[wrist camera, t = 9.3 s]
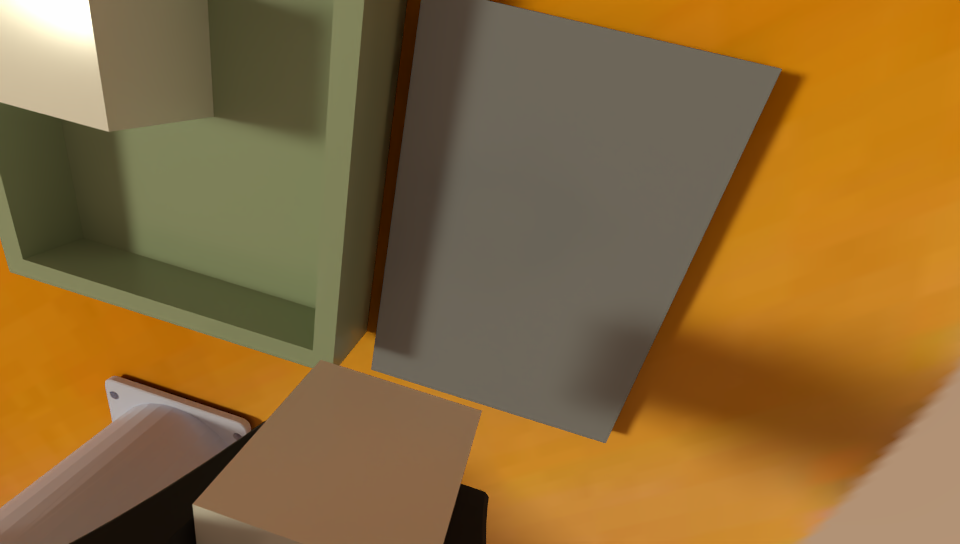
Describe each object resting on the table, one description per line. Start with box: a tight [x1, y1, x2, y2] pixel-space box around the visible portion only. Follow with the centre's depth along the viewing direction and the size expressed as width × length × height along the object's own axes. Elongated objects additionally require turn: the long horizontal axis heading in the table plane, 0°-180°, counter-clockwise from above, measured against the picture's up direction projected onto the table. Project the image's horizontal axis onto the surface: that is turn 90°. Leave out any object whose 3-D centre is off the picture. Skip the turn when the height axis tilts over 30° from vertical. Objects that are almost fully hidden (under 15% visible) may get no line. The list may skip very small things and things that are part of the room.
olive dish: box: [0, 0, 407, 368], centre depth 16 cm, size 14×14×3 cm
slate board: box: [371, 0, 782, 443], centre depth 16 cm, size 14×10×1 cm
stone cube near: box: [192, 360, 482, 544], centre depth 10 cm, size 4×4×4 cm
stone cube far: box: [0, 0, 214, 132], centre depth 14 cm, size 4×4×4 cm
